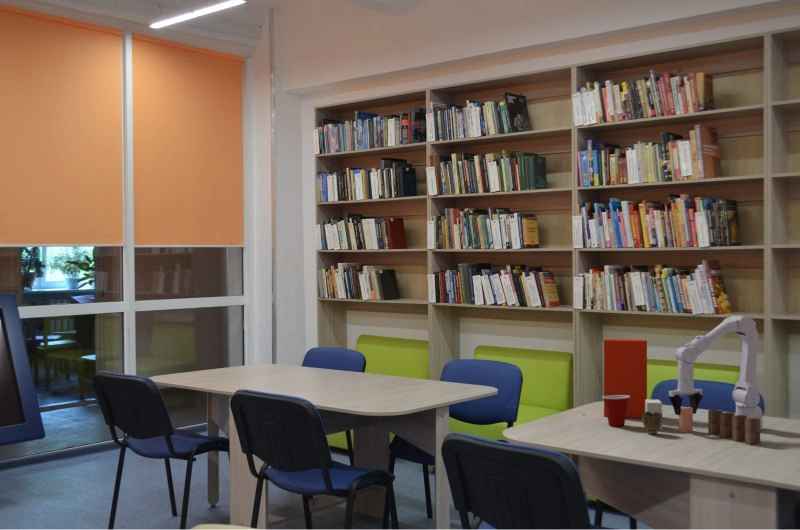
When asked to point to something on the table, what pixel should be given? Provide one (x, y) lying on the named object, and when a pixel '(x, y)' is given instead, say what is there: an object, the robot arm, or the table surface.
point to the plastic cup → (616, 409)
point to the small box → (653, 407)
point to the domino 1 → (686, 419)
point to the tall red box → (626, 373)
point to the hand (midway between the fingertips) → (685, 414)
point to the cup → (652, 422)
